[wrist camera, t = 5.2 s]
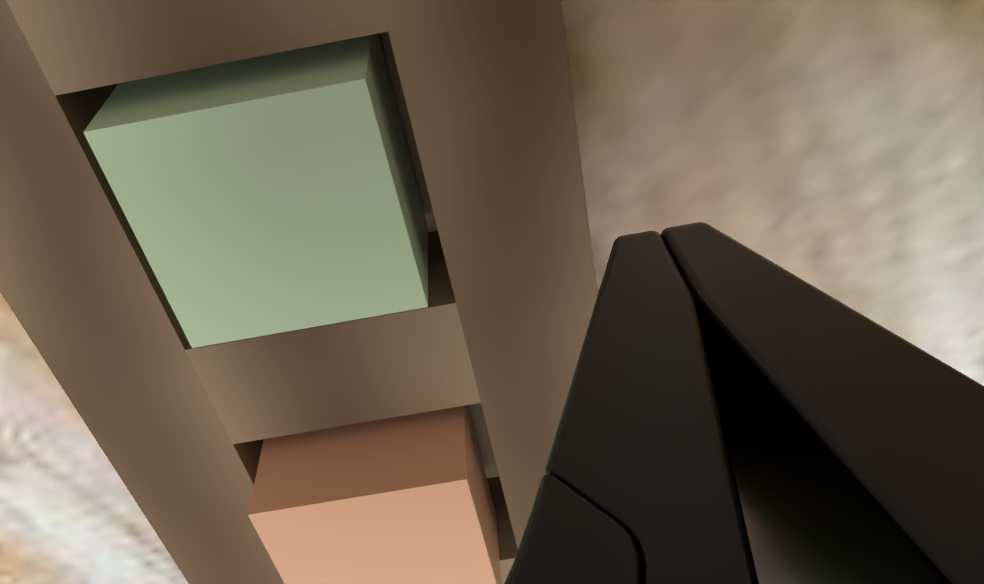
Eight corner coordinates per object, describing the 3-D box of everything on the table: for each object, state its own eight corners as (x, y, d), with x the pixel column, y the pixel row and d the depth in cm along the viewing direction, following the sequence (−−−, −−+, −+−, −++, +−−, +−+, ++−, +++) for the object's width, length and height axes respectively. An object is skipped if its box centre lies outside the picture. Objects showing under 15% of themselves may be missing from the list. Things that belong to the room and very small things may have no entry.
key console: (522, -170, 17) (544, -128, 14) (630, 630, 33) (651, 734, 30) (-66, -50, 17) (-177, 17, 14) (328, 676, 34) (317, 782, 31)
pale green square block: (374, 18, 17) (365, 78, 15) (427, 228, 20) (427, 306, 18) (131, 66, 17) (82, 132, 15) (220, 265, 20) (191, 348, 18)
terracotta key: (462, 386, 22) (466, 479, 19) (495, 513, 24) (503, 607, 22) (267, 419, 22) (247, 514, 19) (324, 541, 25) (313, 636, 22)
